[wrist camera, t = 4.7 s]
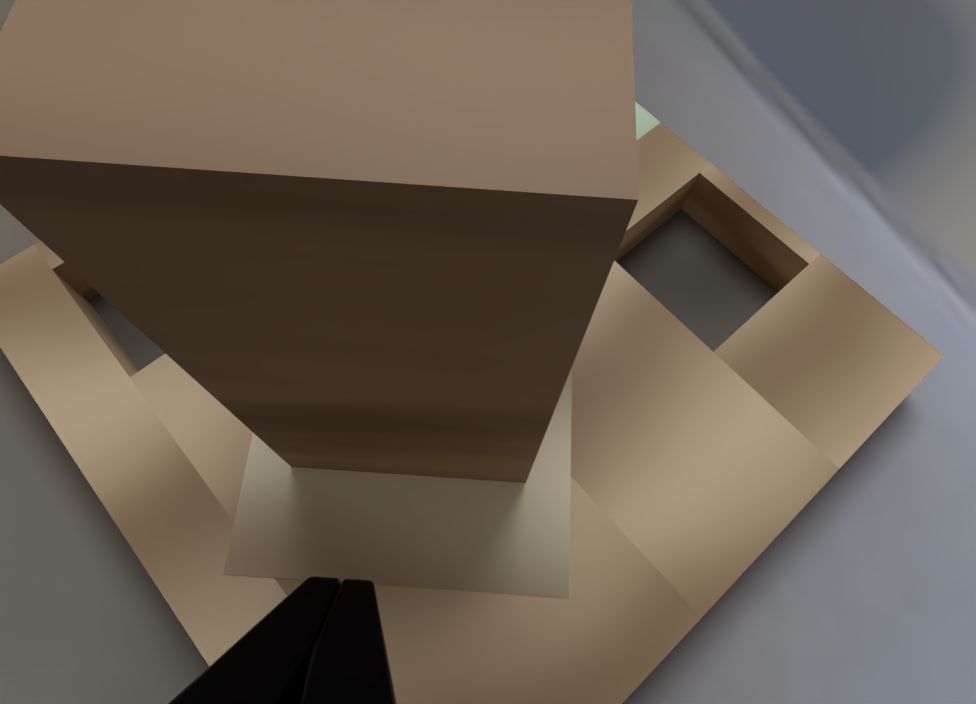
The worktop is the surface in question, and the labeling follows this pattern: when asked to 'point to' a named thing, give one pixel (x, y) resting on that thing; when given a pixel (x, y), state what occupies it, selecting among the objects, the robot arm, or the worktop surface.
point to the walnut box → (337, 205)
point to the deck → (497, 504)
